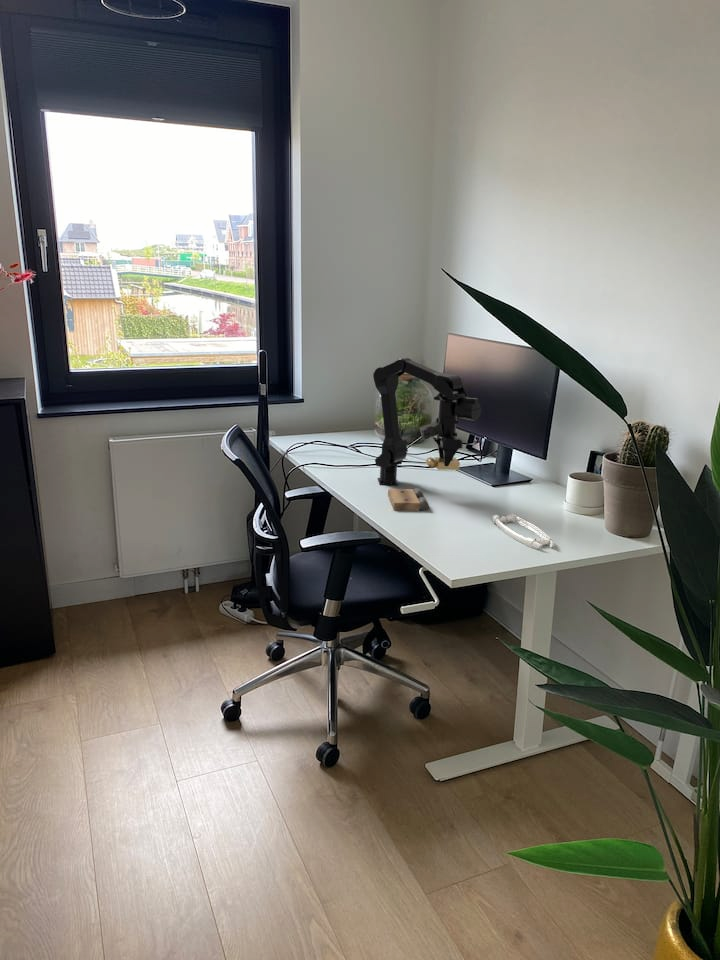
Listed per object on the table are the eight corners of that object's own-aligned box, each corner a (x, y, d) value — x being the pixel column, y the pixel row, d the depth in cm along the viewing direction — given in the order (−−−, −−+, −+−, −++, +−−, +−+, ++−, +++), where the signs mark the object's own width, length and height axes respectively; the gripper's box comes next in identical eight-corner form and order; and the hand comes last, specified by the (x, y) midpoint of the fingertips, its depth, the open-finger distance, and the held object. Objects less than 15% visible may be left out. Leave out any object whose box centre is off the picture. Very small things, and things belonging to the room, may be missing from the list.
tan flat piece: (393, 510, 221) (394, 501, 220) (387, 495, 234) (388, 487, 233) (428, 510, 222) (429, 501, 221) (420, 496, 235) (421, 488, 234)
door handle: (530, 553, 194) (484, 521, 216) (561, 550, 197) (513, 518, 219) (531, 544, 193) (485, 512, 215) (563, 541, 196) (514, 510, 218)
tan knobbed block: (454, 464, 236) (455, 456, 235) (459, 469, 230) (459, 461, 229) (424, 464, 235) (425, 456, 234) (428, 469, 229) (429, 461, 228)
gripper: (416, 409, 235) (413, 455, 240) (428, 421, 218) (425, 471, 222) (450, 409, 237) (446, 456, 241) (464, 422, 219) (460, 471, 224)
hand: (444, 463), depth 232 cm, fingers closed on tan knobbed block, 6 cm apart
